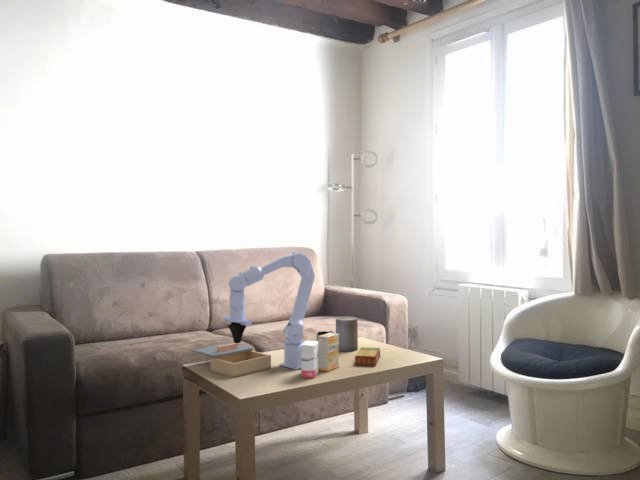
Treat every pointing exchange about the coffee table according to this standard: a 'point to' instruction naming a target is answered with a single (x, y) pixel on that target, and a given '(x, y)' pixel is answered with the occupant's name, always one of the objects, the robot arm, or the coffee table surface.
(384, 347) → the coffee table surface
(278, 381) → the coffee table surface
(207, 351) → the lid
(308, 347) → the ink box
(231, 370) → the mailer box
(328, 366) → the supplement box
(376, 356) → the carton
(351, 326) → the pillar candle
